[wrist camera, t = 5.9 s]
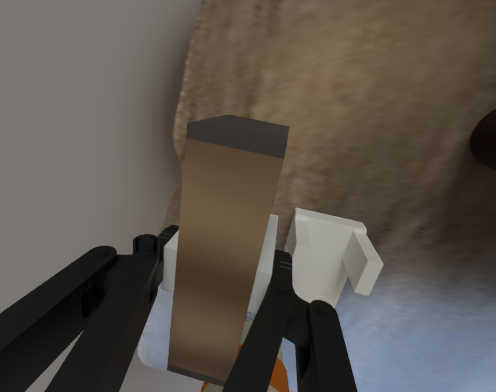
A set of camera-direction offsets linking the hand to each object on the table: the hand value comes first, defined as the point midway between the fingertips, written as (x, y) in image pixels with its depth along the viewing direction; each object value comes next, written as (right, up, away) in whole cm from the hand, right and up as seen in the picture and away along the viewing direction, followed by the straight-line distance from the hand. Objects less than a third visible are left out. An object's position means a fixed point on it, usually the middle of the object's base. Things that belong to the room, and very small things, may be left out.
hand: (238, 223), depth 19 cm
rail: (0, 0, 0) cm, 0 cm away
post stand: (+9, -9, +16) cm, 21 cm away
